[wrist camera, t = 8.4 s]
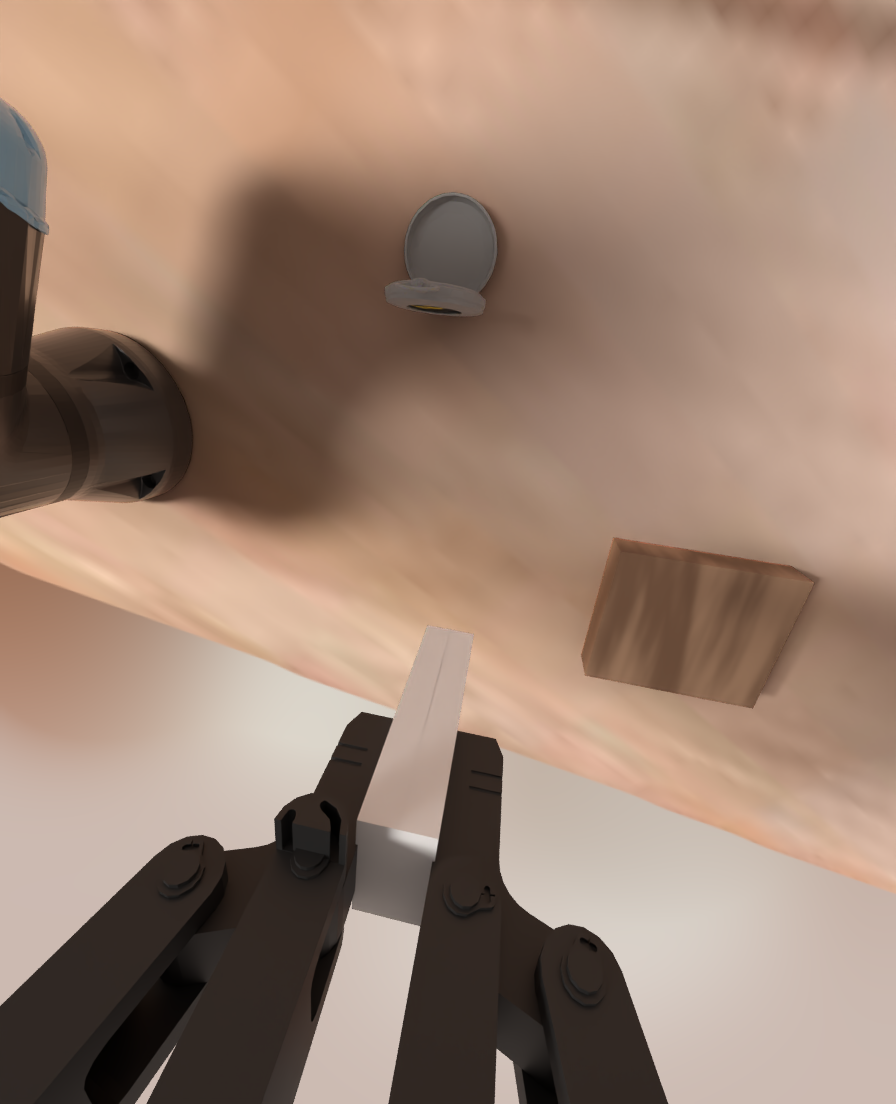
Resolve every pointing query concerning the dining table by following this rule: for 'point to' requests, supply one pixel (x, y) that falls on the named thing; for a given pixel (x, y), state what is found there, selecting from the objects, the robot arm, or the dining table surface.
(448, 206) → the pocket watch
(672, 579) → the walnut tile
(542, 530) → the dining table surface
